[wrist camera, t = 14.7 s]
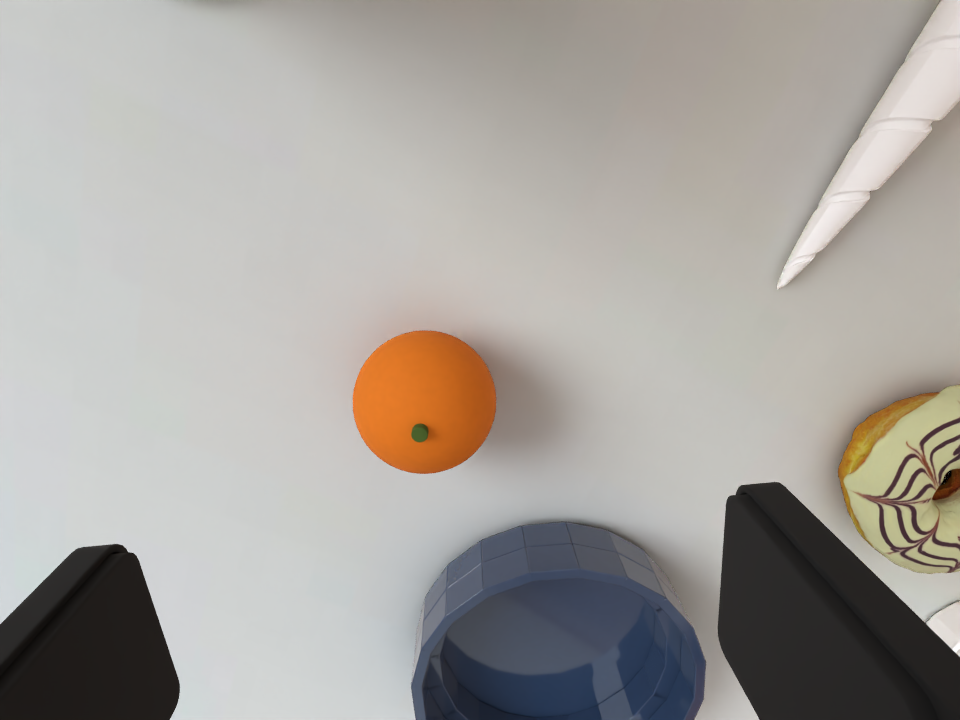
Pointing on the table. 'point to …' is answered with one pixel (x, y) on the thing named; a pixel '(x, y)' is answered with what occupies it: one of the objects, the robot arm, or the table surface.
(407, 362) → the orange
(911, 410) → the decorated donut
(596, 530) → the blue bowl
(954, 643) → the white cup
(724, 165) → the table surface
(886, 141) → the unicorn horn
